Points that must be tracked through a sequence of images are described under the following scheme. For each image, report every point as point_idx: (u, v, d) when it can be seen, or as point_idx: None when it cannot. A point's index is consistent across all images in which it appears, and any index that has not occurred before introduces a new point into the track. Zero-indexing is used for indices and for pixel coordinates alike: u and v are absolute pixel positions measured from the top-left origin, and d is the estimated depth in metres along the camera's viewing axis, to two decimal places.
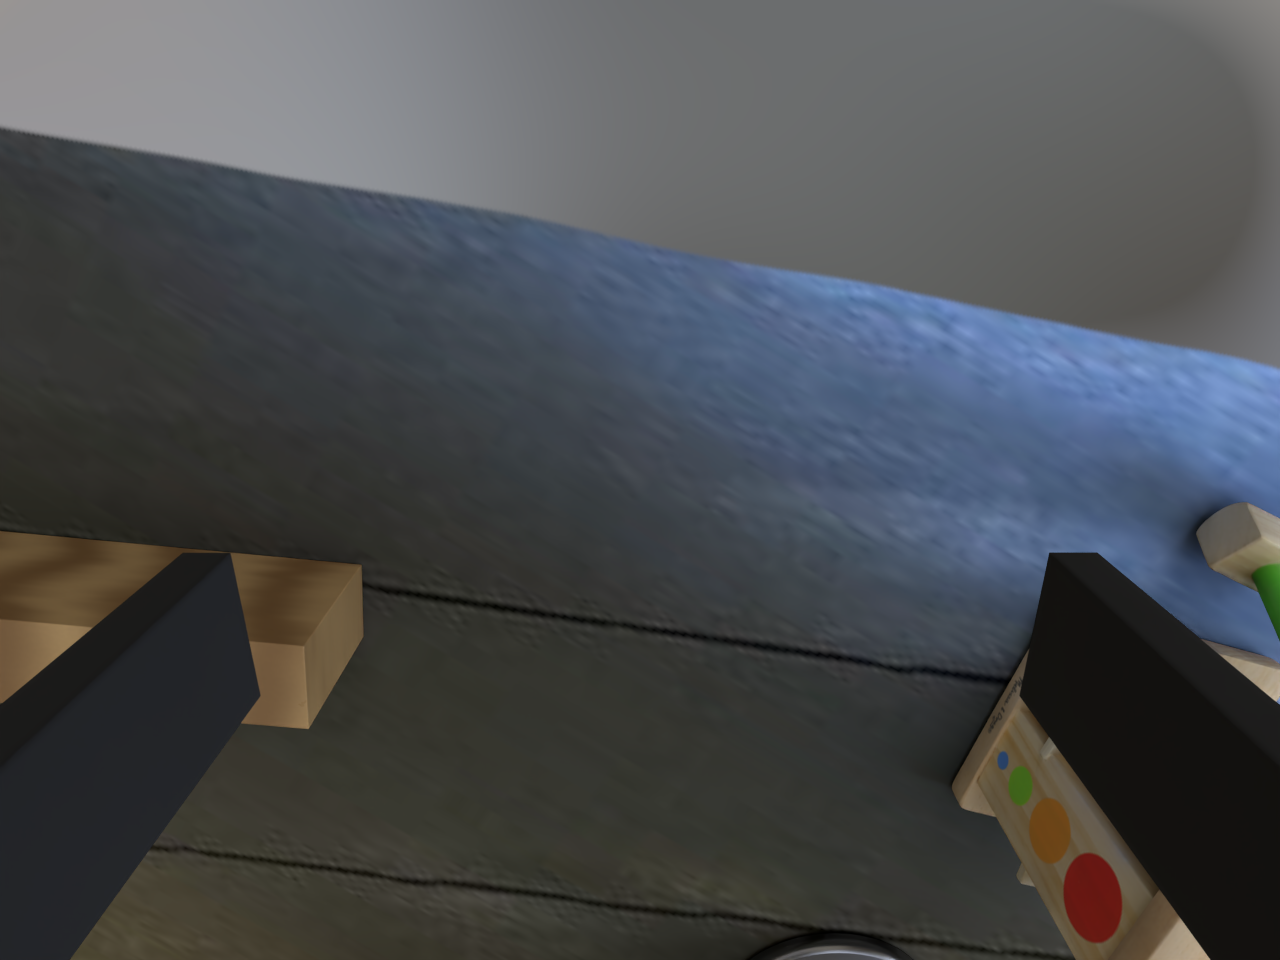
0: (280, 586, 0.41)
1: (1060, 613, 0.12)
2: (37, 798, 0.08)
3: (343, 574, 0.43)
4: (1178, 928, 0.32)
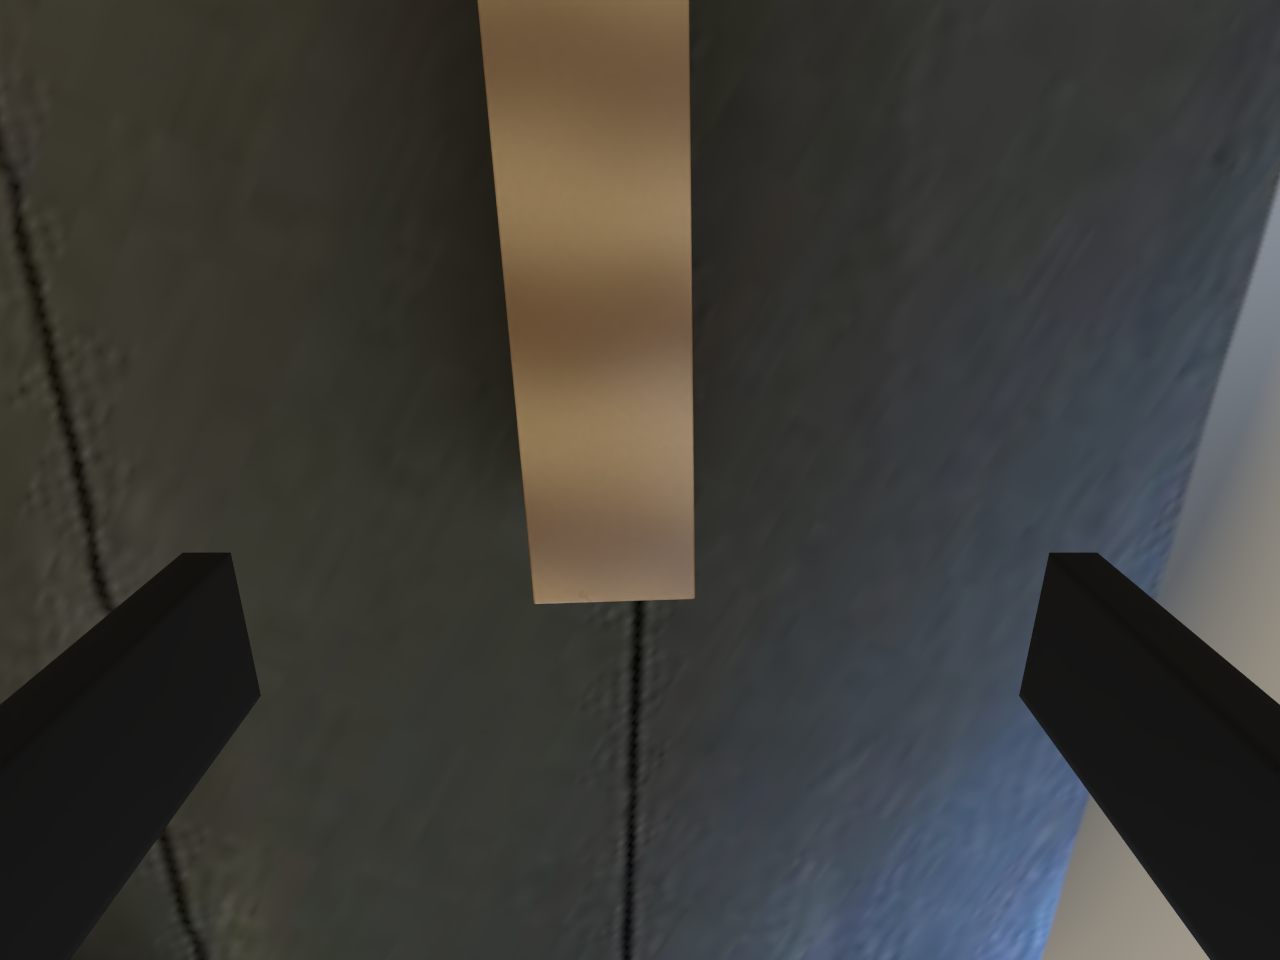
0: None
1: (1060, 613, 0.12)
2: (37, 798, 0.08)
3: None
4: None
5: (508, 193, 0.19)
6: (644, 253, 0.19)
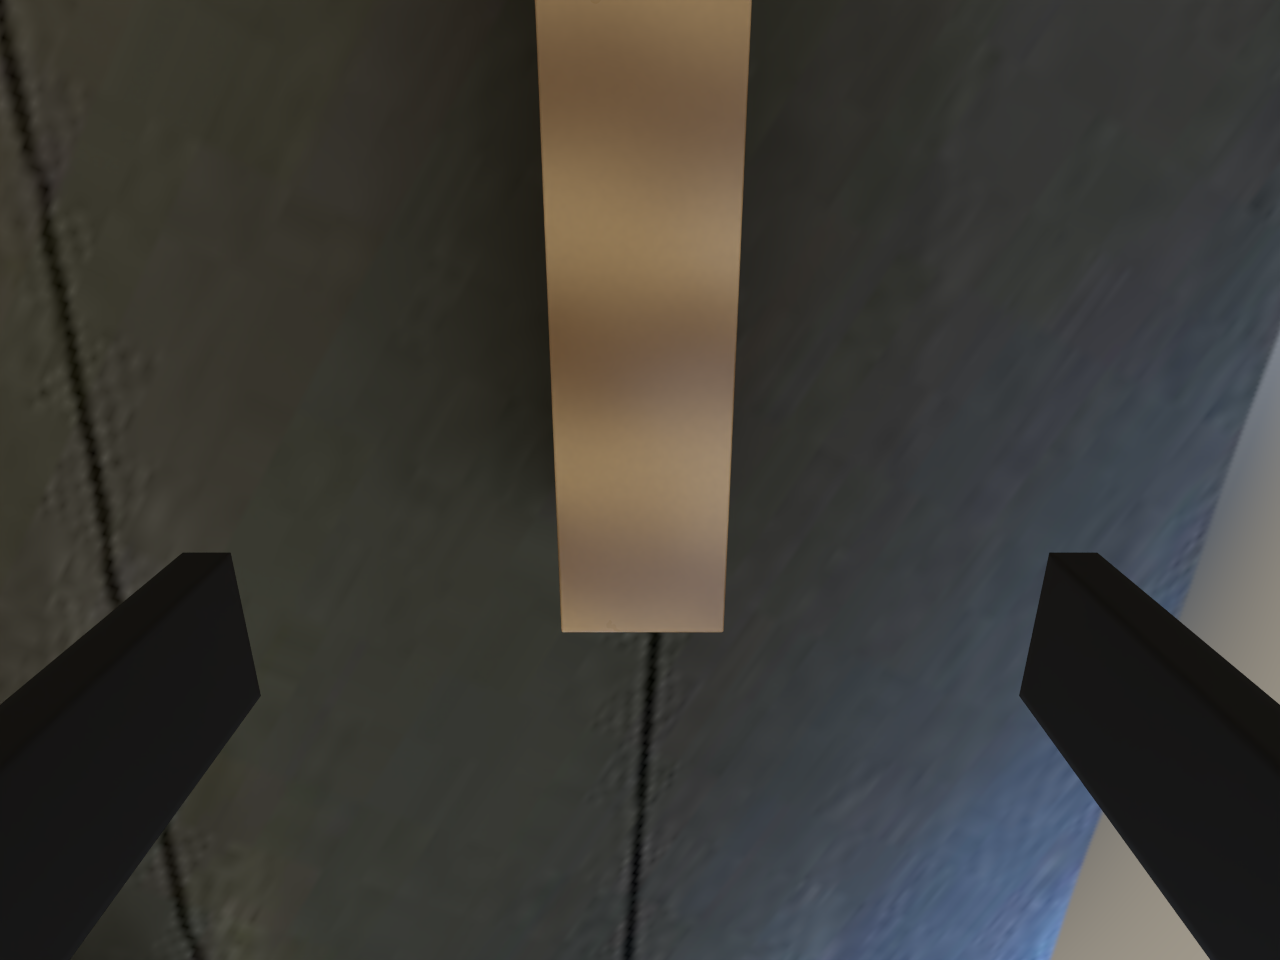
0: None
1: (1060, 613, 0.12)
2: (37, 798, 0.08)
3: None
4: None
5: (557, 224, 0.19)
6: (691, 289, 0.19)
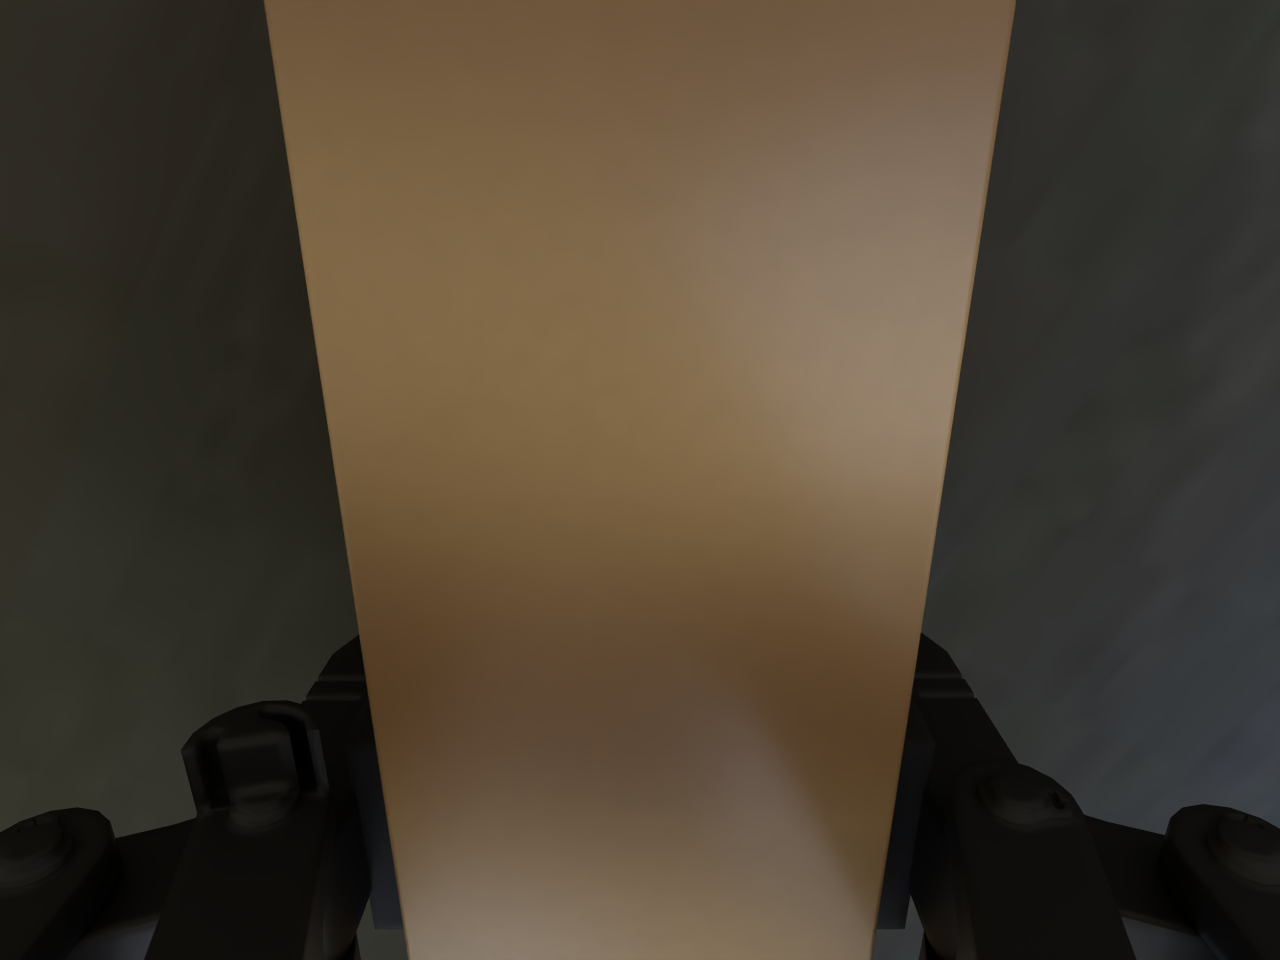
0: None
1: None
2: None
3: None
4: None
5: (357, 347, 0.06)
6: (791, 536, 0.06)
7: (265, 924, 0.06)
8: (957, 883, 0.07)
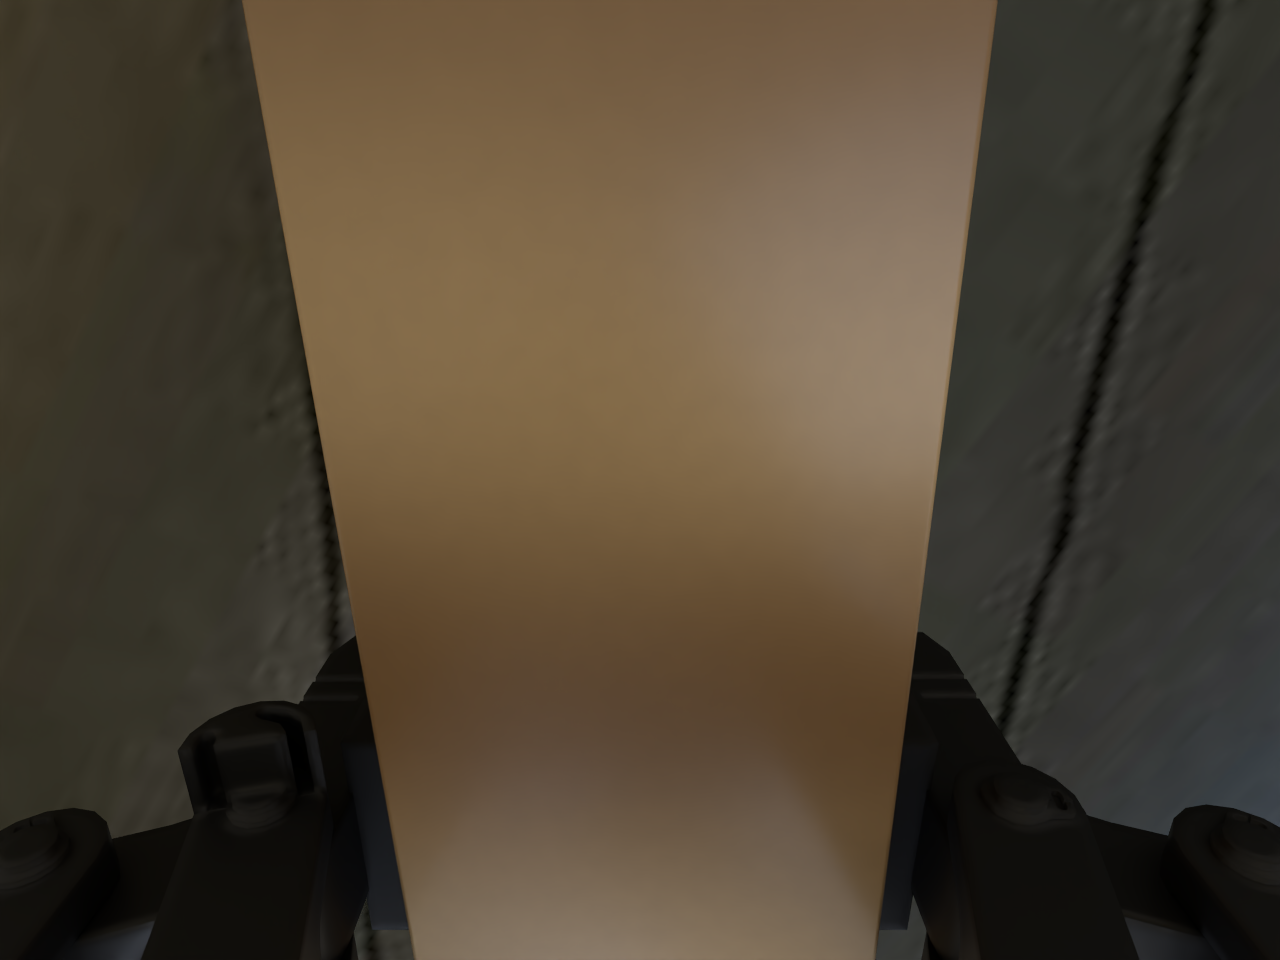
0: None
1: None
2: None
3: None
4: None
5: (345, 346, 0.06)
6: (786, 527, 0.06)
7: (262, 924, 0.06)
8: (960, 883, 0.07)
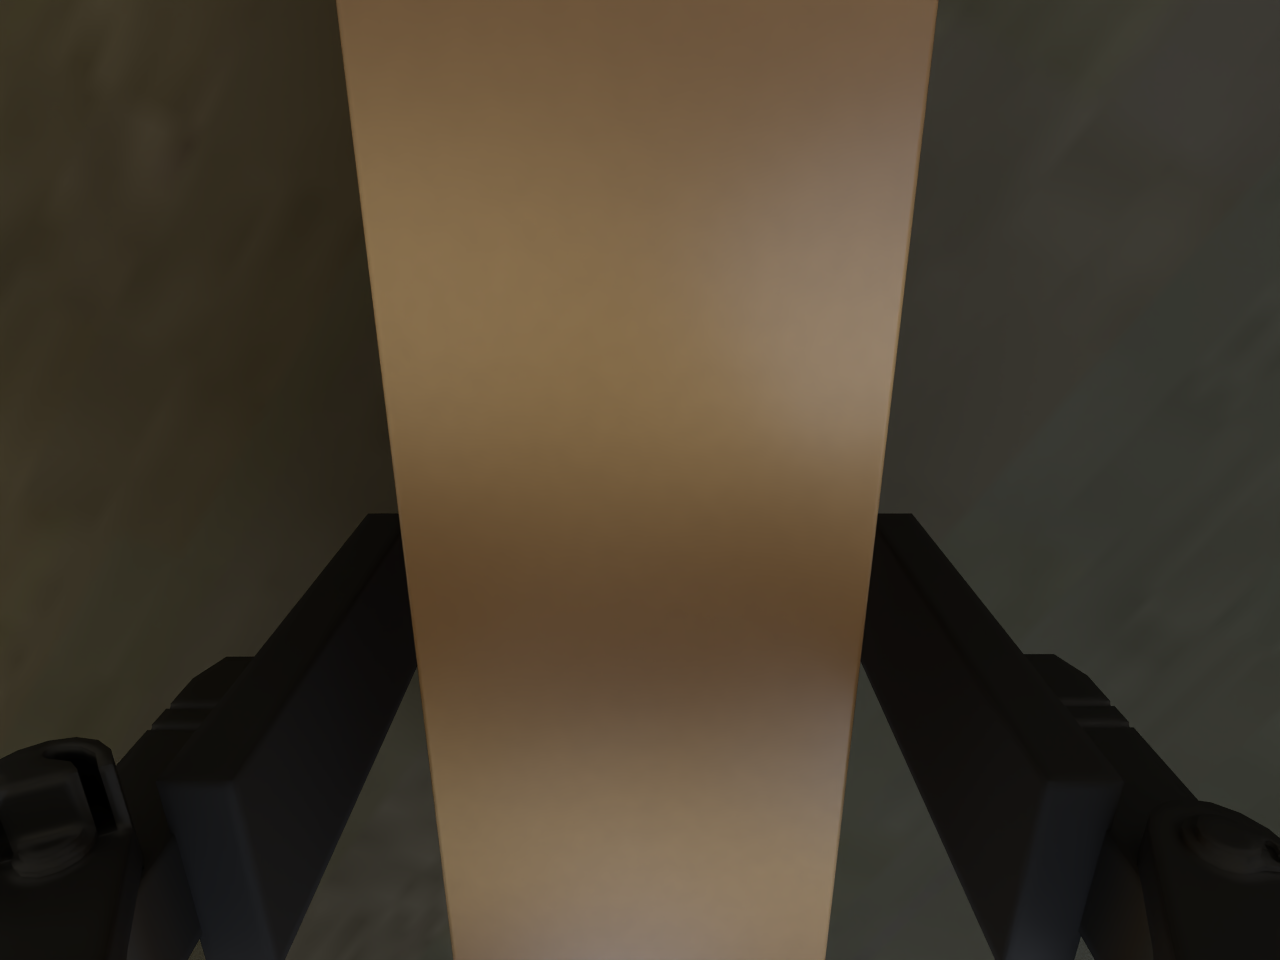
0: None
1: (874, 566, 0.13)
2: (319, 708, 0.10)
3: None
4: None
5: (408, 320, 0.07)
6: (763, 477, 0.08)
7: None
8: (1156, 924, 0.07)
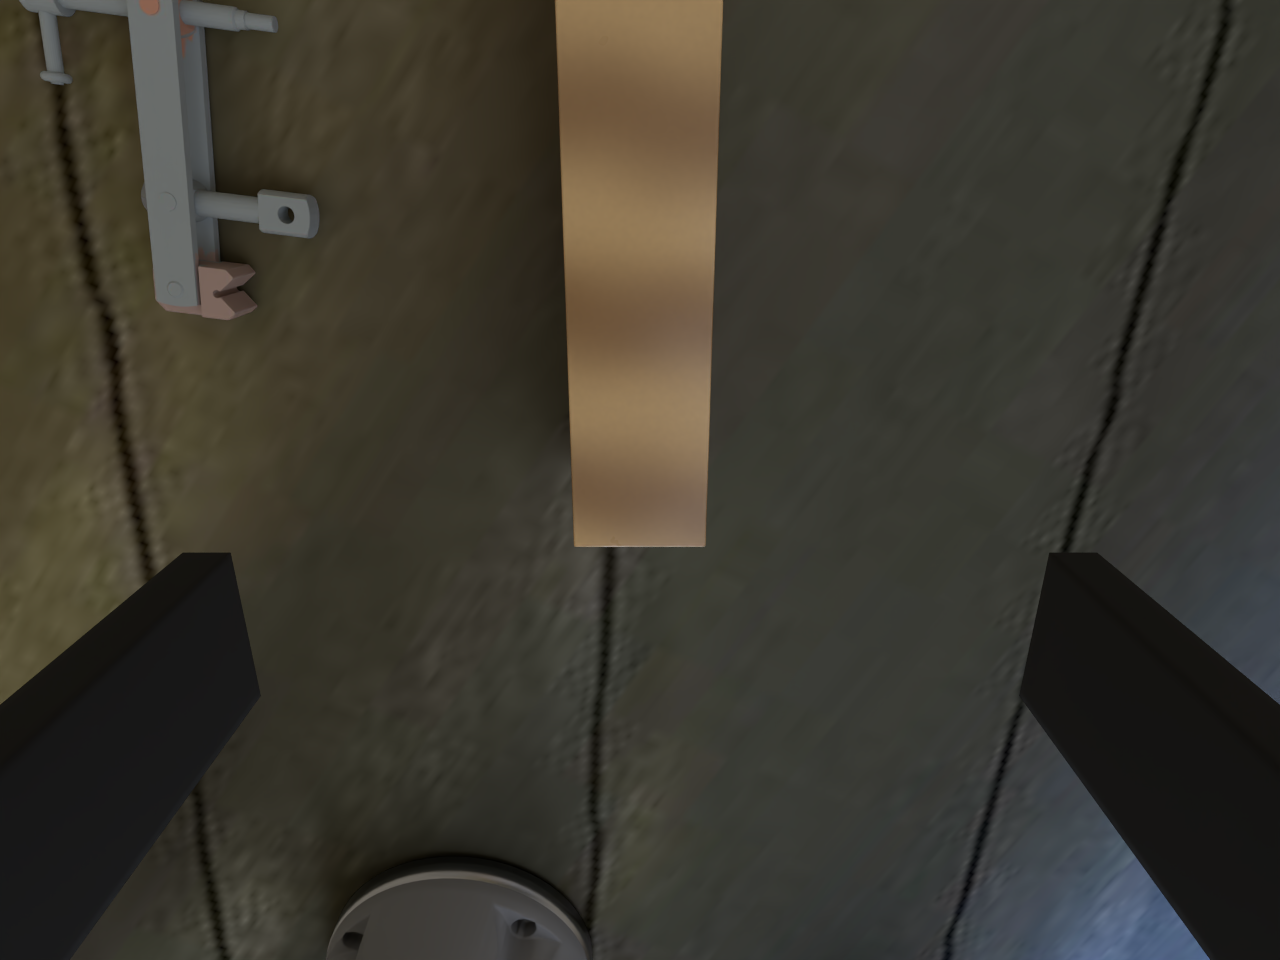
0: None
1: (1060, 613, 0.12)
2: (37, 798, 0.08)
3: None
4: None
5: (572, 214, 0.24)
6: (677, 265, 0.25)
7: None
8: None
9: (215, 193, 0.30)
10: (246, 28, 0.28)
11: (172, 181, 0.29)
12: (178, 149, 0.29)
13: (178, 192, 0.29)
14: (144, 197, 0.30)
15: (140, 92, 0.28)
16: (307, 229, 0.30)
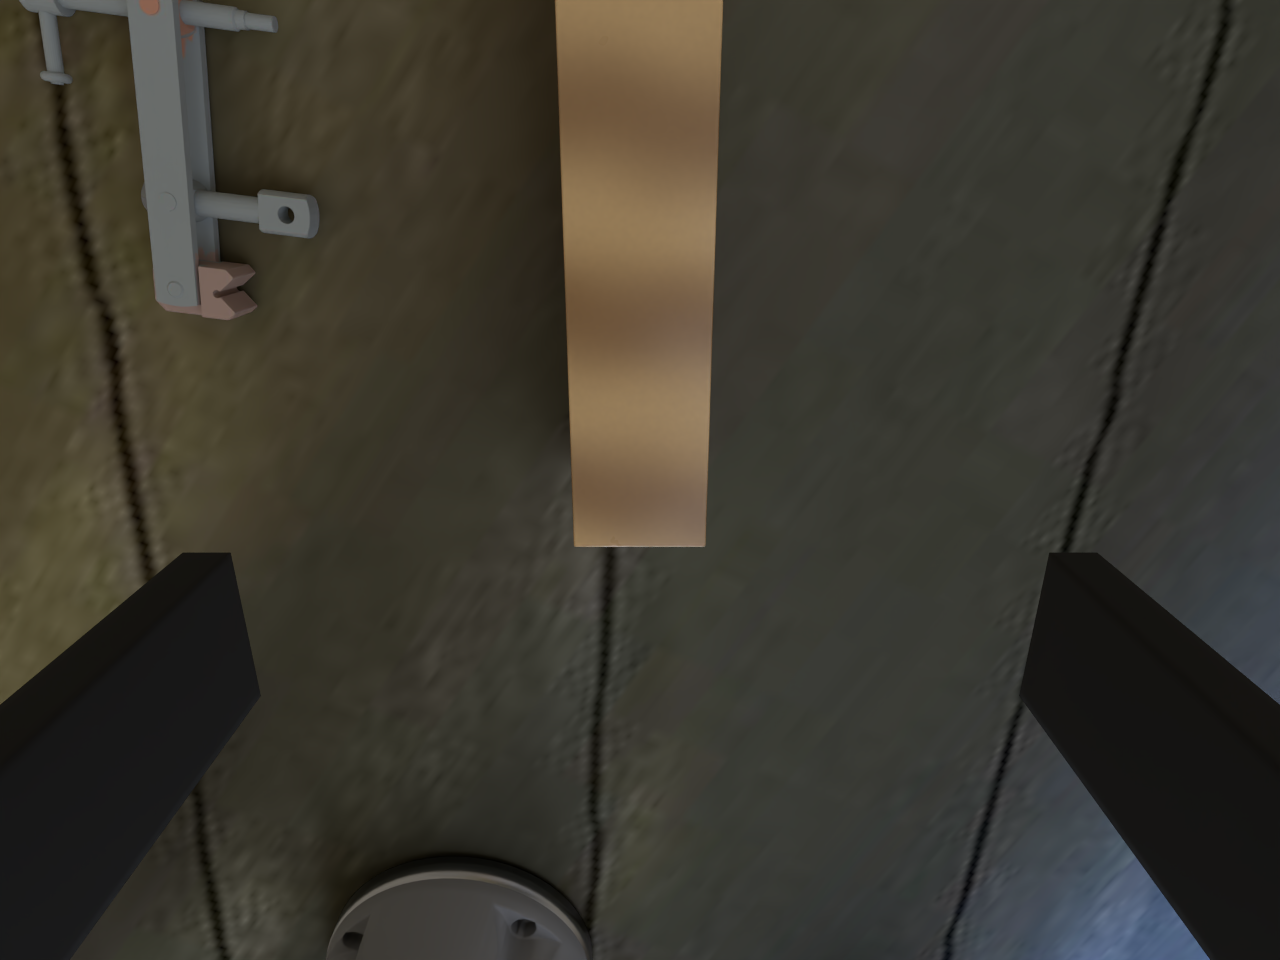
0: None
1: (1060, 613, 0.12)
2: (37, 798, 0.08)
3: None
4: None
5: (572, 214, 0.24)
6: (677, 265, 0.25)
7: None
8: None
9: (215, 193, 0.30)
10: (246, 28, 0.28)
11: (172, 181, 0.29)
12: (178, 149, 0.29)
13: (179, 193, 0.29)
14: (144, 197, 0.30)
15: (140, 92, 0.28)
16: (307, 229, 0.30)
